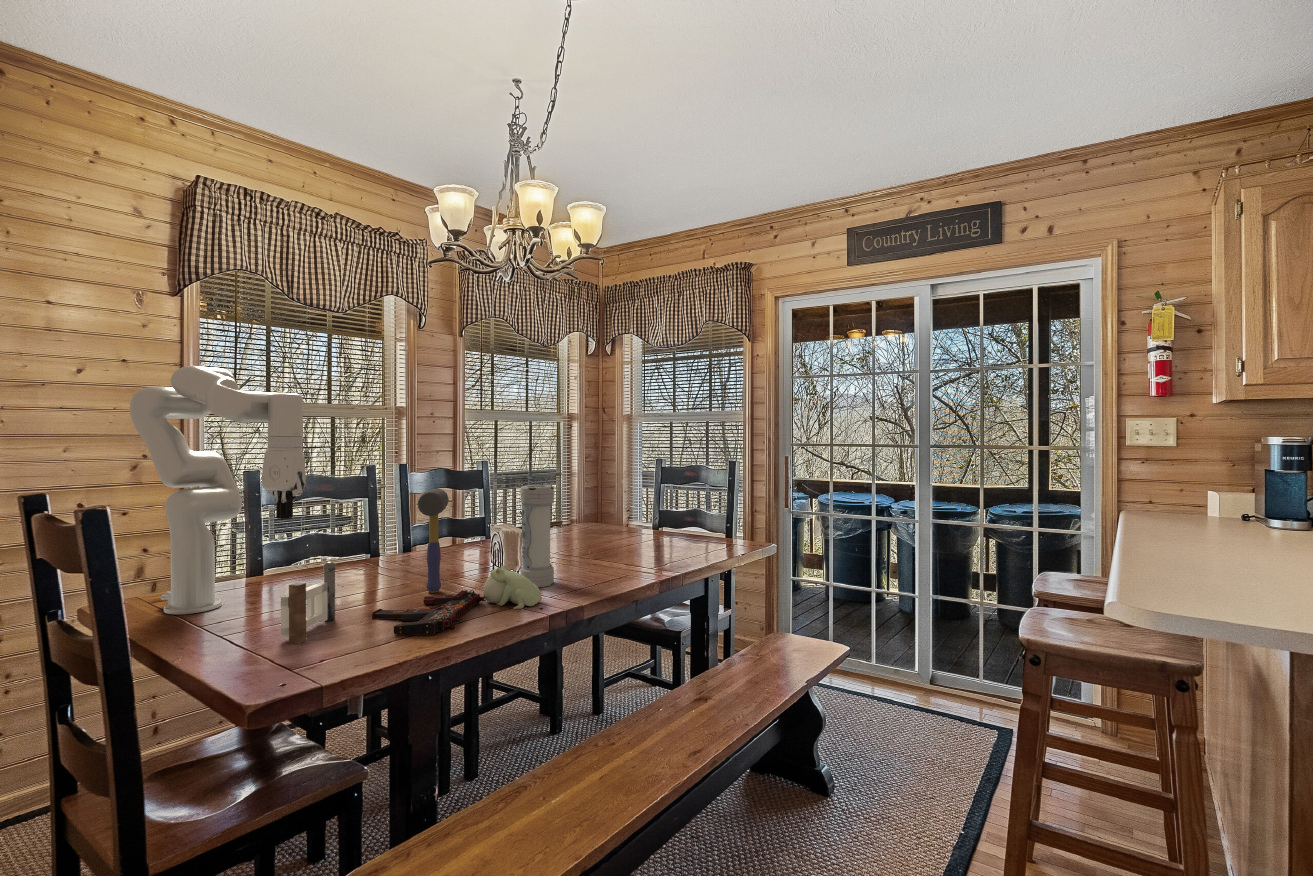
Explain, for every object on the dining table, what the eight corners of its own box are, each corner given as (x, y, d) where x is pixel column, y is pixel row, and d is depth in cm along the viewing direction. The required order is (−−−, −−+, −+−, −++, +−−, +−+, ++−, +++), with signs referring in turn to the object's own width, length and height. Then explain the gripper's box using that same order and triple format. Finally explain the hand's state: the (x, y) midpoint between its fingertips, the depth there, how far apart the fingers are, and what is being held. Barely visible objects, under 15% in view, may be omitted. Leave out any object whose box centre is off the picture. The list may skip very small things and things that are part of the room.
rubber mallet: (443, 597, 188) (443, 490, 187) (416, 598, 187) (415, 491, 186) (450, 586, 200) (450, 486, 200) (424, 587, 199) (424, 487, 199)
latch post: (287, 643, 148) (287, 585, 147) (295, 640, 150) (294, 582, 150) (298, 644, 147) (298, 585, 147) (306, 640, 149) (306, 583, 149)
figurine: (493, 597, 189) (493, 561, 189) (547, 601, 185) (547, 565, 184) (474, 606, 179) (474, 569, 179) (530, 611, 175) (531, 572, 175)
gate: (281, 637, 149) (280, 597, 148) (321, 618, 163) (321, 581, 163) (289, 637, 148) (289, 597, 148) (329, 618, 163) (329, 582, 163)
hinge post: (320, 621, 164) (320, 562, 163) (328, 618, 166) (328, 560, 166) (331, 622, 163) (330, 563, 163) (338, 619, 166) (338, 560, 166)
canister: (515, 587, 200) (515, 487, 199) (527, 579, 210) (527, 484, 209) (547, 588, 198) (547, 488, 197) (558, 581, 208) (558, 485, 207)
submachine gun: (407, 587, 189) (495, 584, 187) (408, 601, 189) (495, 598, 187) (345, 623, 154) (452, 620, 153) (346, 639, 154) (453, 636, 153)
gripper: (249, 442, 163) (249, 517, 163) (293, 445, 157) (292, 522, 157) (278, 442, 169) (277, 514, 170) (320, 444, 164) (319, 518, 164)
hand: (284, 518), depth 164 cm, fingers closed
